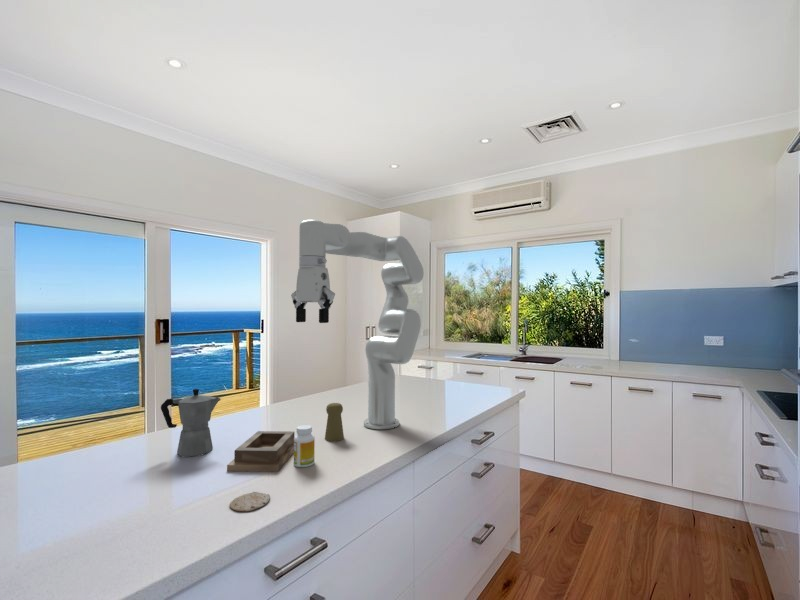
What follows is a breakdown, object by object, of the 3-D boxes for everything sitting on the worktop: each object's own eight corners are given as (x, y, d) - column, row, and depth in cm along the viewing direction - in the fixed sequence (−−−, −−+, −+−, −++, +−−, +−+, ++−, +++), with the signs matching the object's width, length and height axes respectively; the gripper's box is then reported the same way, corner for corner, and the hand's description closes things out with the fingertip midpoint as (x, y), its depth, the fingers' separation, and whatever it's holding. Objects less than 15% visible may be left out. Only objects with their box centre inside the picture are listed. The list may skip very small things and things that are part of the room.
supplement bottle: (318, 461, 107) (318, 425, 107) (307, 469, 102) (307, 431, 102) (301, 458, 109) (301, 423, 109) (289, 466, 104) (289, 428, 104)
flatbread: (241, 517, 79) (241, 512, 79) (223, 505, 84) (223, 500, 84) (277, 502, 85) (277, 497, 85) (258, 491, 90) (258, 487, 90)
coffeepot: (221, 443, 121) (222, 384, 121) (218, 454, 112) (219, 390, 113) (163, 449, 116) (164, 387, 116) (156, 461, 107) (157, 394, 107)
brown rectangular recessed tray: (257, 443, 121) (257, 429, 121) (299, 444, 120) (299, 429, 120) (227, 470, 101) (227, 453, 101) (277, 471, 100) (277, 453, 100)
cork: (340, 442, 123) (340, 406, 123) (321, 440, 124) (321, 405, 124) (346, 435, 129) (346, 401, 129) (329, 434, 130) (329, 400, 130)
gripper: (343, 262, 113) (342, 322, 113) (302, 266, 123) (302, 321, 123) (323, 260, 107) (323, 323, 107) (282, 264, 117) (282, 322, 117)
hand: (312, 322), depth 115 cm, fingers open, 9 cm apart
